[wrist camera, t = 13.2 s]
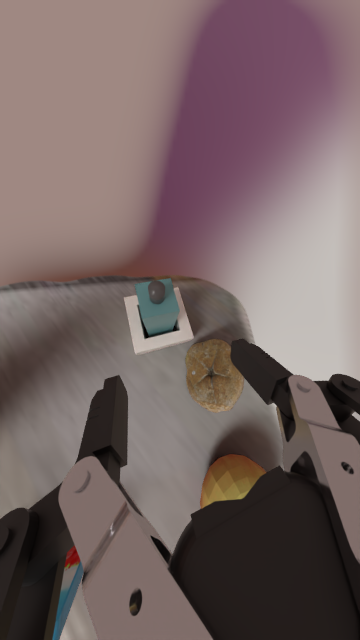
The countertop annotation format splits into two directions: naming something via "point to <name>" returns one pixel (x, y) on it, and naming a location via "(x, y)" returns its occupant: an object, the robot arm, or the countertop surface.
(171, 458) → the countertop surface
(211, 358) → the fossil
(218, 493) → the apple
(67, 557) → the blue printed box
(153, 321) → the teal block with knob
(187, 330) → the socket
